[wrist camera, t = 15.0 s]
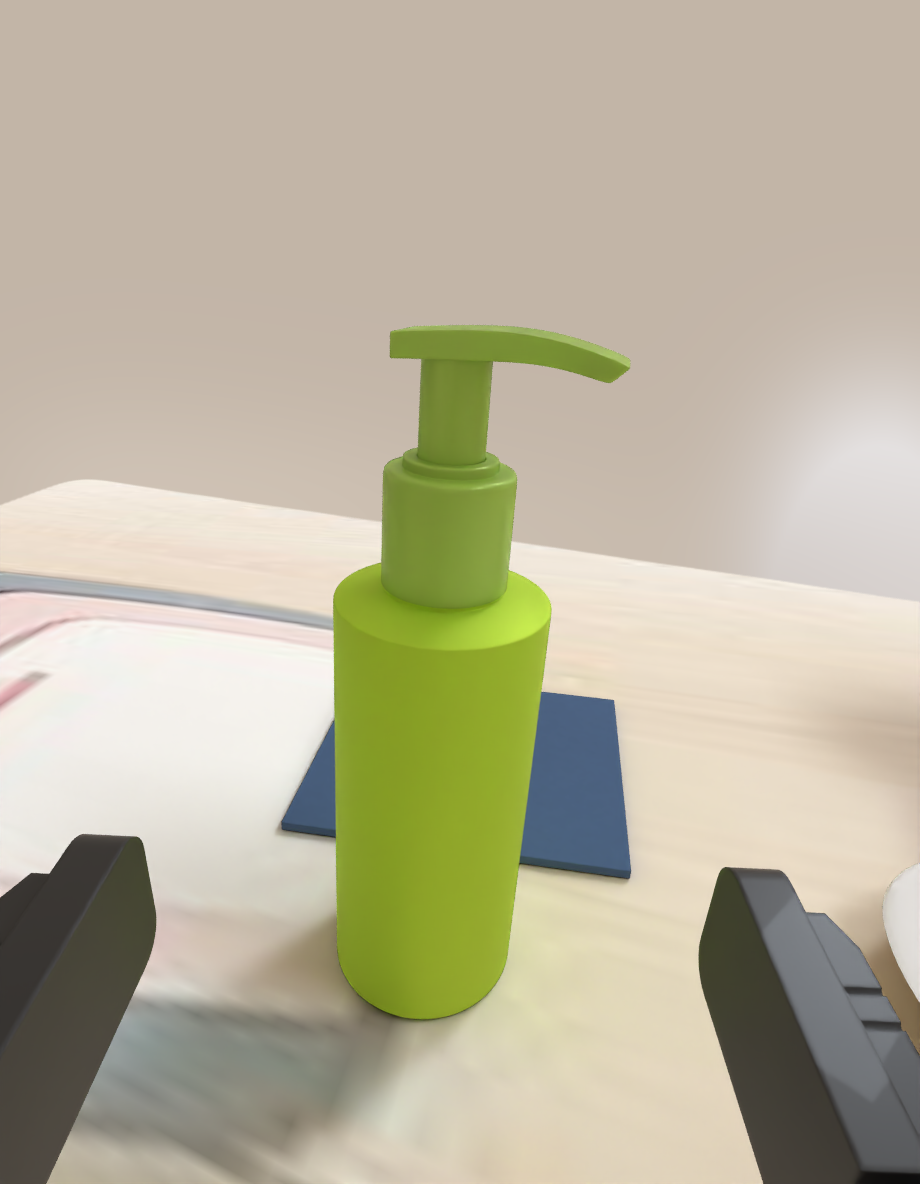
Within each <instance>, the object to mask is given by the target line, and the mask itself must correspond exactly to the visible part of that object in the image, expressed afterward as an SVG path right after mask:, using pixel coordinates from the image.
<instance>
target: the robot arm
mask: <svg viewBox="0 0 920 1184" xmlns="http://www.w3.org/2000/svg"><path fill="white" fill-rule="evenodd" d="M155 932H156V910H155V905H154V899H153V894H152V889H151V883H150V878H149V872H148V867H147V862H146V856H145V851H144V846H143V843H142V841H141V839H140V838H138V837H133V836H112V835H92V834H81V835H79V836H77V837H76V838H75V839H74V840H73V841H72V842H71V843H70V845H69V846H68V847H67V849H66V850H65V852H64V853H63V855H62V856H61V858H60V859H59V861H58V862H57V863H56V865H55V866H54V868H53V869H52V871H51V872H50V874H41V873H31V874H29V875H28V876H27V877H26V878H24V879H23V880H22V881H21V882H19V883H18V884H17V885H16V886H14V887H13V888H12V889H11V890H9V891H8V892H7V893H6V894H4V895H3V896H2V897H1V898H0V1184H46V1183H47V1181H48V1179H49V1177H50V1174H51V1172H52V1170H53V1168H54V1166H55V1164H56V1161H57V1159H58V1157H59V1155H60V1153H61V1150H62V1148H63V1146H64V1144H65V1142H66V1140H67V1137H68V1135H69V1133H70V1131H71V1129H72V1126H73V1124H74V1122H75V1120H76V1118H77V1116H78V1113H79V1111H80V1109H81V1107H82V1105H83V1102H84V1100H85V1098H86V1096H87V1094H88V1092H89V1089H90V1087H91V1085H92V1083H93V1081H94V1078H95V1076H96V1074H97V1072H98V1070H99V1068H100V1065H101V1063H102V1061H103V1059H104V1057H105V1054H106V1052H107V1050H108V1048H109V1046H110V1044H111V1041H112V1039H113V1037H114V1035H115V1033H116V1030H117V1028H118V1026H119V1024H120V1022H121V1020H122V1017H123V1015H124V1013H125V1011H126V1009H127V1006H128V1004H129V1002H130V1000H131V998H132V996H133V993H134V991H135V989H136V987H137V985H138V982H139V980H140V978H141V976H142V974H143V972H144V969H145V967H146V965H147V962H148V960H149V957H150V954H151V951H152V947H153V943H154V938H155ZM699 972H700V979H701V984H702V989H703V993H704V996H705V999H706V1002H707V1005H708V1009H709V1012H710V1015H711V1018H712V1021H713V1025H714V1028H715V1031H716V1034H717V1037H718V1040H719V1044H720V1047H721V1050H722V1053H723V1056H724V1060H725V1063H726V1066H727V1069H728V1072H729V1075H730V1079H731V1082H732V1085H733V1088H734V1091H735V1095H736V1098H737V1101H738V1104H739V1107H740V1110H741V1114H742V1117H743V1120H744V1123H745V1126H746V1129H747V1133H748V1136H749V1139H750V1142H751V1145H752V1149H753V1152H754V1155H755V1158H756V1161H757V1164H758V1168H759V1171H760V1174H761V1177H762V1180H763V1184H920V1056H919V1054H918V1052H917V1050H916V1049H915V1047H914V1045H913V1043H912V1041H911V1040H910V1038H909V1036H908V1034H907V1032H906V1031H902V1029H901V1022H900V1020H899V1018H898V1016H897V1015H896V1013H895V1011H894V1009H893V1007H892V1006H891V1004H890V1002H889V1000H888V999H887V997H886V996H883V995H882V988H881V986H880V984H879V982H878V981H877V979H876V977H875V975H874V973H873V972H872V970H871V968H870V966H869V965H868V963H867V961H866V959H865V957H864V956H863V954H862V952H861V950H860V948H859V947H858V946H857V945H856V944H855V943H854V942H853V941H852V940H851V939H850V938H849V937H848V936H847V935H846V934H845V933H844V932H843V931H842V930H841V929H840V928H839V927H838V926H837V925H836V924H835V923H834V922H833V921H832V920H831V919H830V918H829V917H828V916H827V915H826V914H825V913H806V912H805V910H804V908H803V906H802V904H801V902H800V900H799V898H798V896H797V894H796V892H795V890H794V888H793V886H792V884H791V882H790V881H789V879H788V877H787V876H786V875H785V874H784V873H783V872H782V871H780V870H772V869H751V868H730V867H725V868H723V869H722V870H721V871H720V873H719V875H718V878H717V882H716V885H715V889H714V893H713V896H712V900H711V903H710V907H709V911H708V914H707V918H706V921H705V925H704V929H703V932H702V936H701V940H700V945H699Z"/></svg>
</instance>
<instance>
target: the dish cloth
mask: <svg viewBox="0 0 920 1184" xmlns="http://www.w3.org/2000/svg"><path fill="white" fill-rule="evenodd" d="M282 829H283V830H290V831H297V832H305V833H312V834H319V835H326V836H333V837H336V801H335V719H334V721H333V723H332V725H331V727H330V729H329V731H328V733H327V735H326V737H325V739H324V741H323V743H322V745H321V747H320V749H319V750H318V752H317V754H316V756H315V758H314V760H313V762H312V764H311V766H310V768H309V770H308V772H307V774H306V776H305V778H304V780H303V782H302V783H301V785H300V787H299V789H298V791H297V793H296V795H295V797H294V799H293V801H292V803H291V805H290V807H289V809H288V811H287V813H286V815H285V816H284V818H283V820H282ZM519 863H524V864H531V865H538V866H545V867H552V868H559V869H566V870H573V871H580V872H587V873H594V874H601V875H608V876H615V877H623V878H630V874H631V865H630V855H629V845H628V835H627V825H626V815H625V805H624V795H623V785H622V775H621V765H620V755H619V745H618V735H617V725H616V715H615V705H614V700H609V699H600V698H591V697H583V696H574V695H566V694H557V693H548V692H541V697H540V705H539V713H538V721H537V729H536V736H535V744H534V752H533V760H532V767H531V775H530V783H529V791H528V799H527V806H526V814H525V822H524V830H523V837H522V845H521V853H520V861H519Z"/></svg>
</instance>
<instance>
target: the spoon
mask: <svg viewBox="0 0 920 1184" xmlns="http://www.w3.org/2000/svg"><path fill="white" fill-rule="evenodd" d="M882 907H883V920H884V926H885V930H886V934H887V937H888V941H889V943H890V946H891V949H892V951H893V954H894V956H895V959H896V961H897V963H898V965H899V967H900V969H901V971H902V973H903V975H904V977H905V979H906V981H907V983H908V985H909V986H910V988H911V989H912V991H913V993H914V994H915V996H916V998H917V999H918V1001H919V1002H920V863H917V864H915V865H913V866H911V867H909V868H907V869H906V870H904V871H902V872H901V873H900V874H899V875H898V876H897V877H896V878H895V879H894V880H893V881H892V882H891V884H890V885H889V887H888V888H887V890H886V893H885V896H884V900H883V906H882Z"/></svg>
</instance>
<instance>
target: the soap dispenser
mask: <svg viewBox="0 0 920 1184" xmlns="http://www.w3.org/2000/svg"><path fill="white" fill-rule="evenodd" d="M390 358H411V359H421V382H420V406H419V432H418V448H413V449H410V450H408V451H406V452H405V453H404V454H403V456H402V457H399V458H396V459H393V460H391V461H389V462H388V463H387V464H386V465H385V467H384V471H383V504H382V505H383V507H382V556H381V563H377V564H374V565H371V566H368V567H365V568H363V569H360V570H358V571H356V572H354V573H353V574H351V575H349V576H348V577H346V578H345V579H344V580H343V581H342V582H341V583H340V584H339V585H338V587H337V588H336V590H335V593H334V598H333V620H334V710H335V801H336V892H337V951H338V958H339V962H340V966H341V968H342V971H343V973H344V975H345V977H346V979H347V980H348V982H349V983H350V985H351V986H352V987H353V989H354V990H355V991H356V992H357V993H358V994H359V995H360V996H361V997H362V998H363V999H365V1000H366V1001H367V1002H369V1003H370V1004H372V1005H373V1006H375V1007H377V1008H378V1009H380V1010H383V1011H385V1012H387V1013H390V1014H393V1015H396V1016H400V1017H404V1018H411V1019H435V1018H441V1017H446V1016H450V1015H453V1014H456V1013H459V1012H461V1011H463V1010H465V1009H467V1008H469V1007H471V1006H473V1005H474V1004H476V1003H477V1002H478V1001H480V1000H481V999H482V998H483V997H484V996H486V995H487V994H488V993H489V991H490V990H491V989H492V988H493V987H494V985H495V984H496V983H497V981H498V979H499V978H500V976H501V974H502V972H503V969H504V966H505V963H506V959H507V954H508V946H509V939H510V931H511V923H512V915H513V907H514V900H515V892H516V884H517V876H518V869H519V861H520V853H521V845H522V837H523V830H524V822H525V814H526V806H527V799H528V791H529V783H530V775H531V767H532V760H533V752H534V744H535V736H536V729H537V721H538V713H539V705H540V697H541V690H542V682H543V674H544V666H545V659H546V651H547V643H548V635H549V627H550V620H551V604H550V601H549V599H548V597H547V595H546V594H545V593H544V592H543V590H542V589H541V588H539V587H538V586H537V585H536V584H534V583H533V582H532V581H530V580H528V579H527V578H525V577H523V576H521V575H519V574H517V573H515V572H512V571H510V570H509V560H510V550H511V539H512V529H513V519H514V509H515V499H516V489H517V475H516V473H515V472H514V470H512V468H510V467H508V466H507V465H504V464H502V463H500V461H499V459H498V458H497V457H496V456H495V455H493V454H490V453H488V452H486V444H487V431H488V418H489V405H490V393H491V380H492V367H493V361H495V362H496V361H497V362H514V363H526V364H534V365H541V366H547V367H552V368H558V369H562V370H566V371H569V372H573V373H577V374H580V375H583V376H586V377H590V378H593V379H595V380H599V381H603V382H606V383H611V382H613V381H615V380H616V379H617V378H619V377H620V376H621V375H623V374H624V373H625V372H626V371H628V370H629V369H630V359H629V358H627V357H625V356H623V355H621V354H619V353H616V352H614V351H612V350H609V349H607V348H604V347H601V346H599V345H596V344H593V343H590V342H587V341H584V340H581V339H577V338H574V337H570V336H566V335H562V334H558V333H554V332H549V331H544V330H537V329H530V328H522V327H511V326H489V325H448V326H414V327H409V328H404V329H399V330H394V331H391V333H390Z"/></svg>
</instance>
